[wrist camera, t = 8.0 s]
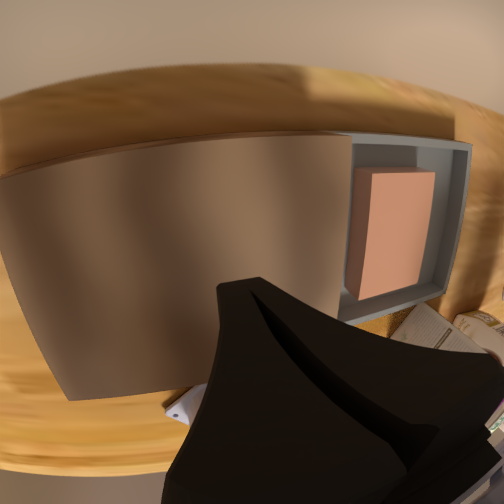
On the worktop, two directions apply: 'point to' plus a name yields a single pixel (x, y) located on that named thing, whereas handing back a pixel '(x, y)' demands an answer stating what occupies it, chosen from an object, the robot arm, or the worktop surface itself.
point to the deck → (168, 248)
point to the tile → (387, 228)
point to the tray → (440, 224)
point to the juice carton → (483, 333)
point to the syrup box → (440, 341)
